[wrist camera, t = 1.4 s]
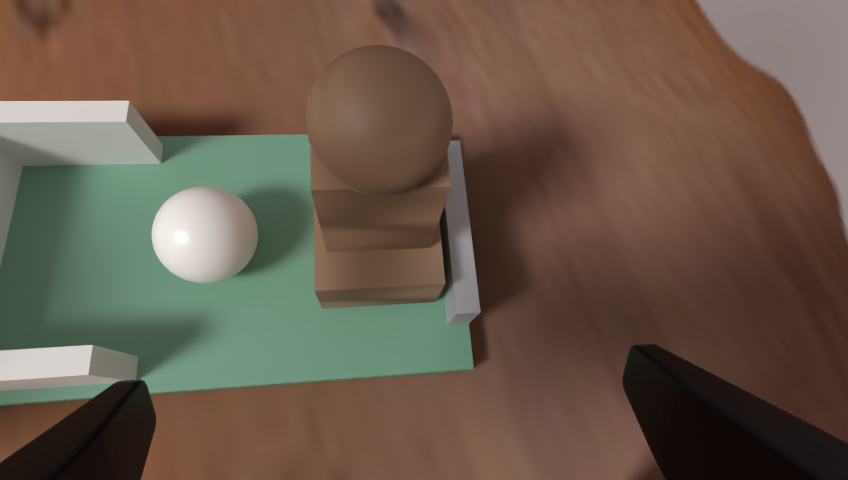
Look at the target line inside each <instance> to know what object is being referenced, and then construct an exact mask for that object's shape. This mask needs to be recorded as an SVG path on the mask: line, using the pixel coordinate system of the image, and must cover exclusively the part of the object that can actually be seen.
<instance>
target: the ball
mask: <svg viewBox="0 0 848 480" xmlns="http://www.w3.org/2000/svg"><path fill="white" fill-rule="evenodd" d="M151 235H152V243H153V248H154V250H155V253H156V255H157V257H158V258H159V260H160V262H161V263H162V264H163V265H164V266H165V267H166V268H167V269H168V270H169V271H170V272H171V273H173V274H174V275H176V276H178V277H180V278H182V279H184V280H187V281H191V282H196V283H214V282H219V281H223V280H226V279H228V278H230V277H232V276H234V275H236V274H237V273H238V272H240V271H241V270H242V269H243V268H244V267H245V266H246V265H247V264H248V263H249V261H250V260H251V258H252V257H253V254H254V252H255V250H256V247H257V242H258V228H257V223H256V220H255V218H254V215H253V213H252V212H251V210H250V209H249V207H248V206H247V205H246V204H245V203H244V201H242V200H241V199H240V198H239V197H237V196H236V195H234V194H233V193H231V192H229V191H226V190H224V189H220V188H217V187H209V186H199V187H192V188H189V189H185V190H183V191H180V192H179V193H177V194H175V195H173V196H172V197H170V198H169V199H168V200H167V201H166V202H165V203H164V204H163V205H162V206H161V208H160V209H159V210H158V212H157V214H156V216H155V219H154V222H153V226H152V233H151Z"/></svg>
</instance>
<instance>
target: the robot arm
mask: <svg viewBox="0 0 848 480" xmlns="http://www.w3.org/2000/svg"><path fill="white" fill-rule="evenodd" d="M623 387H624V390H625V393H626V395H627V397H628V400H629V402H630V404H631V407H632V409H633V411H634V413H635V416H636V418H637V420H638V423H639V425H640V427H641V429H642V432H643V434H644V436H645V439H646V441H647V443H648V445H649V448H650V450H651V452H652V454H653V456H654V458H655V460H656V462H657V464H658V466H659V468H660V470H661V472H662V474H663V476H664V477H665V479H666V480H848V443H846V442H844V441H842V440H840V439H838V438H836V437H834V436H832V435H831V434H829V433H827V432H825V431H823V430H821V429H819V428H817V427H815V426H813V425H811V424H809V423H807V422H805V421H803V420H801V419H799V418H797V417H795V416H793V415H792V414H790V413H788V412H786V411H784V410H782V409H780V408H778V407H776V406H774V405H772V404H770V403H768V402H766V401H764V400H762V399H760V398H758V397H756V396H754V395H753V394H751V393H749V392H747V391H745V390H743V389H741V388H739V387H737V386H735V385H733V384H731V383H729V382H727V381H725V380H723V379H721V378H719V377H717V376H715V375H714V374H712V373H710V372H708V371H706V370H704V369H702V368H700V367H698V366H696V365H694V364H692V363H690V362H688V361H686V360H684V359H682V358H680V357H678V356H676V355H675V354H673V353H671V352H669V351H667V350H665V349H663V348H661V347H659V346H657V345H655V344H638V345H634V346H632V347H631V348H630V350H629V354H628V358H627V362H626V366H625V370H624V374H623ZM155 426H156V414H155V410H154V407H153V403H152V400H151V396H150V393H149V390H148V386H147V384H146V383H145V381H143V380H141V379H135V380H122V381H117V382H115V383H114V384H112V385H111V386H109V387H108V388H106V389H105V390H103V391H102V392H101V393H99V394H98V395H96V396H95V397H93V398H92V399H91V400H89V401H88V402H86V403H85V404H83V405H82V406H81V407H79V408H78V409H76V410H75V411H73V412H72V413H71V414H69V415H68V416H66V417H65V418H63V419H62V420H61V421H59V422H58V423H56V424H55V425H53V426H52V427H51V428H49V429H48V430H46V431H45V432H43V433H42V434H41V435H39V436H38V437H36V438H35V439H33V440H32V441H30V442H29V443H28V444H26V445H25V446H23V447H22V448H20V449H19V450H18V451H16V452H15V453H13V454H12V455H10V456H9V457H8V458H6V459H5V460H3V461H2V462H0V480H141V477H142V473H143V470H144V466H145V463H146V459H147V455H148V452H149V448H150V445H151V441H152V438H153V434H154V431H155Z"/></svg>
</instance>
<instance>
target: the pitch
mask: <svg viewBox="0 0 848 480" xmlns="http://www.w3.org/2000/svg"><path fill="white" fill-rule="evenodd" d="M447 152H448V161H449V171H450V180H451V189H450V192H449V194H448V197H447V200H446V203H445V206H444V209H443V211H442V214H441V217H440V220H439V223H440V233H441V243H442V254H443V264H444V274H445V286H444V288H443V289H442V291H441V293H440V294H439V296H438V298H437V300H436V301H435V302H429V303H411V304H393V305H376V306H358V307H341V308H323V309H322V307H321V305H320V303H319V300H318V298H317V296H316V294H315V292H314V201H313V198H312V194H311V166H310V143H309V140H308V135H226V136H156V135H155V134H154V133H153V131H152V130H151V129H150V127H149V126H148V125H147V123H146V122H145V121H144V120H143V118H142V117H141V116H140V114H139V113H138V112H137V111H136V109H135V108H134V107H133V105H132V104H131V103H130V101H0V406H9V405H23V404H36V403H49V402H62V401H76V400H89V399H92V398H93V397H95V396H96V395H98V394H99V393H101V392H102V391H103V390H105V389H106V388H108V387H109V386H111V385H112V384H114V383H115V382H117V381H122V380H135V379H141V380H143V381H145V383H146V384H147V386H148V390H149V393H150V395H155V394H168V393H181V392H195V391H208V390H221V389H234V388H247V387H261V386H274V385H287V384H300V383H314V382H327V381H340V380H353V379H366V378H380V377H393V376H406V375H419V374H433V373H446V372H459V371H470V370H472V369H474V365H473V356H472V347H471V338H470V329H469V323H470V322H471V321H472V320H473V319H474V318H475V317H476V316H477V315H478V314H480V313H481V311H480V303H479V294H478V286H477V278H476V269H475V261H474V253H473V245H472V236H471V228H470V220H469V211H468V203H467V195H466V186H465V178H464V170H463V162H462V153H461V145H460V141H450V144H449V147H448V150H447ZM199 186H209V187H217V188H220V189H224V190H226V191H229V192H231V193H233V194H234V195H236V196H237V197H239V198H240V199H241V200H242V201H244V203H245V204H246V205H247V206H248V207H249V209H250V210H251V212H252V213H253V215H254V218H255V220H256V223H257V228H258V242H257V247H256V250H255V252H254V254H253V257H252V258H251V260H250V261H249V263H248V264H247V265H246V266H245V267H244V268H243V269H242V270H241V271H240V272H238V273H237V274H236V275H234V276H232V277H230V278H228V279H226V280H223V281H219V282H214V283H196V282H191V281H187V280H184V279H182V278H180V277H178V276H176V275H174V274H173V273H171V272H170V271H169V270H168V269H167V268H166V267H165V266H164V265H163V264H162V263H161V262H160V260H159V258H158V257H157V255H156V253H155V250H154V248H153V243H152V235H151V233H152V226H153V222H154V219H155V216H156V214H157V212H158V210H159V209H160V208H161V206H162V205H163V204H164V203H165V202H166V201H167V200H168V199H169V198H170V197H172V196H173V195H175V194H177V193H179V192H180V191H183V190H185V189H189V188H192V187H199Z"/></svg>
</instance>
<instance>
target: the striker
mask: <svg viewBox="0 0 848 480" xmlns="http://www.w3.org/2000/svg"><path fill="white" fill-rule="evenodd" d="M452 128H453V118H452V109H451V104H450V100H449V97H448V94H447V91H446V89H445V87H444V86H443V84H442V82H441V80H440V79H439V77H438V76H437V74H436V73H435V72H434V71H433V70H432V69H431V68H430V67H429V66H428V65H427V64H426V63H425V62H424V61H422V60H421V59H420V58H418V57H417V56H415V55H413V54H411V53H410V52H407V51H405V50H402V49H399V48H395V47H391V46H384V45H371V46H364V47H360V48H356V49H353V50H350V51H348V52H346V53H344V54H342V55H341V56H339V57H338V58H336V59H335V60H334V61H332V62H331V63H330V64H329V65H328V66H327V67H326V68H325V69H324V70H323V71H322V73H321V74H320V75H319V77H318V78H317V80H316V81H315V83H314V85H313V88H312V90H311V92H310V95H309V98H308V102H307V108H306V130H307V135H308V140H309V143H310V166H311V194H312V198H313V201H314V292H315V294H316V296H317V298H318V300H319V303H320V305H321V307H322V309H323V308H341V307H358V306H376V305H393V304H411V303H429V302H435V301H436V300H437V298H438V296H439V294H440V293H441V291H442V289H443V288H444V286H445V274H444V264H443V254H442V243H441V233H440V223H439V220H440V217H441V214H442V211H443V209H444V206H445V203H446V200H447V197H448V194H449V192H450V189H451V180H450V171H449V161H448V152H447V150H448V147H449V144H450V141H451V136H452Z"/></svg>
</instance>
